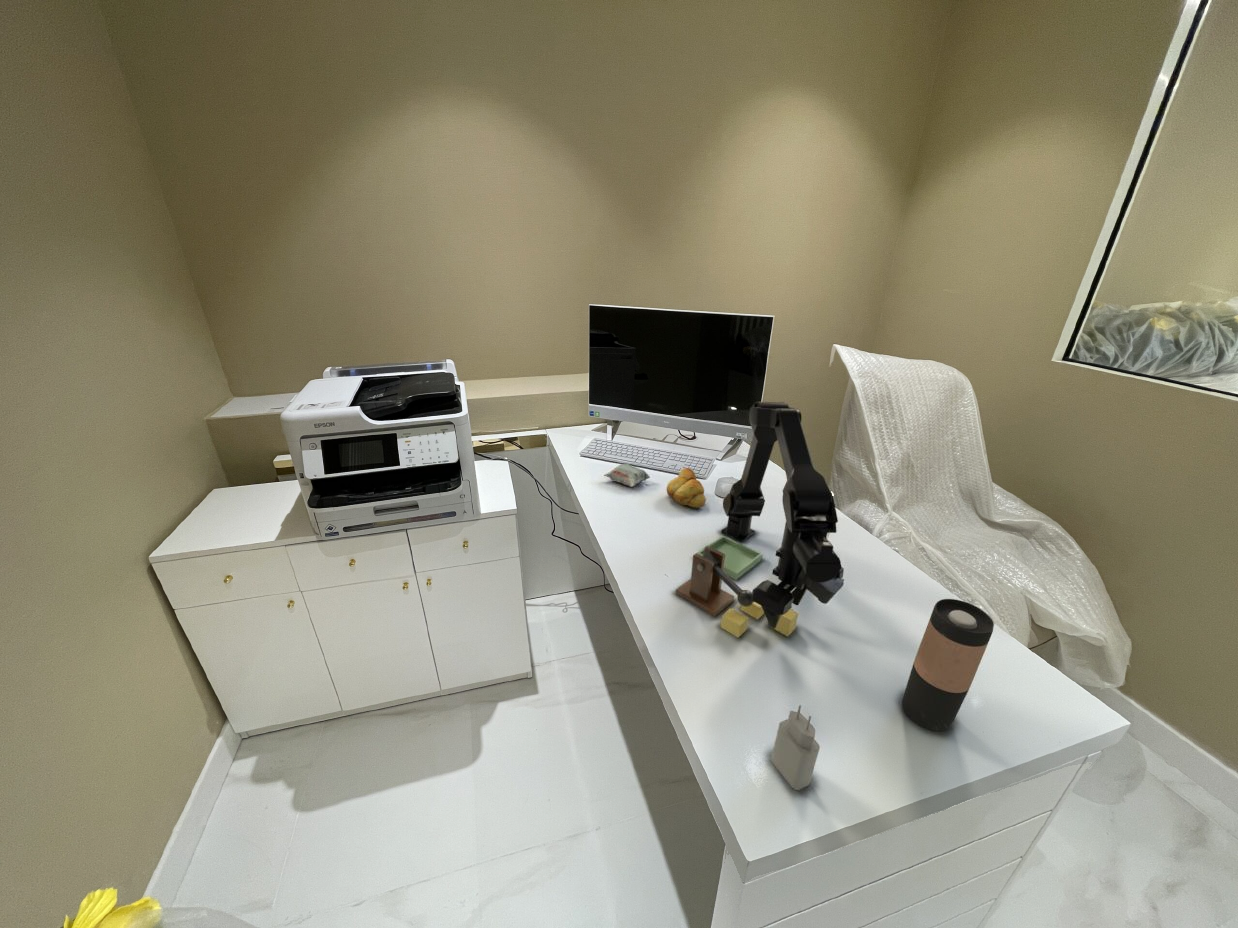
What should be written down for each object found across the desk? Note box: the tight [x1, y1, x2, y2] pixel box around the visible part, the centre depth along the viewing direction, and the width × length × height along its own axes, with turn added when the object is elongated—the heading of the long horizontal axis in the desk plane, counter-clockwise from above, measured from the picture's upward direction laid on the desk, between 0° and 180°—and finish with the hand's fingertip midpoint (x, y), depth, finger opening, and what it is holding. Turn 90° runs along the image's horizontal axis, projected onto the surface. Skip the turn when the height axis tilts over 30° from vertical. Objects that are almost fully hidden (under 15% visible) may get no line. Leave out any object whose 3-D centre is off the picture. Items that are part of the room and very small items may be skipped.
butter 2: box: [740, 602, 765, 620], centre depth 102 cm, size 3×4×3 cm
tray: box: [696, 535, 763, 581], centre depth 119 cm, size 11×11×2 cm
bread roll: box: [666, 467, 707, 508], centre depth 144 cm, size 13×10×8 cm
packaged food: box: [603, 463, 651, 488], centre depth 154 cm, size 9×12×5 cm
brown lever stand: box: [675, 545, 735, 617], centre depth 104 cm, size 10×7×11 cm
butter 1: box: [720, 607, 749, 638], centre depth 97 cm, size 3×4×3 cm
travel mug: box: [901, 598, 995, 732], centre depth 77 cm, size 8×8×20 cm
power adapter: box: [770, 704, 821, 791], centre depth 69 cm, size 3×5×12 cm, turn 25°
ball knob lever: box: [703, 552, 754, 607], centre depth 100 cm, size 13×3×3 cm, turn 46°
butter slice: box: [768, 608, 799, 637], centre depth 98 cm, size 3×4×4 cm
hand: (784, 615), depth 97 cm, fingers open, 9 cm apart
